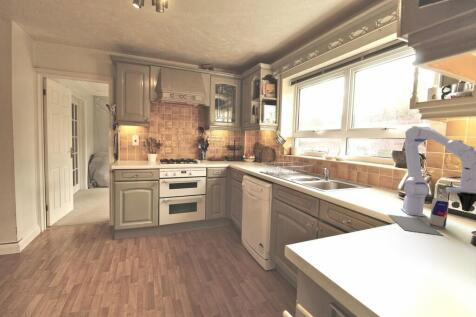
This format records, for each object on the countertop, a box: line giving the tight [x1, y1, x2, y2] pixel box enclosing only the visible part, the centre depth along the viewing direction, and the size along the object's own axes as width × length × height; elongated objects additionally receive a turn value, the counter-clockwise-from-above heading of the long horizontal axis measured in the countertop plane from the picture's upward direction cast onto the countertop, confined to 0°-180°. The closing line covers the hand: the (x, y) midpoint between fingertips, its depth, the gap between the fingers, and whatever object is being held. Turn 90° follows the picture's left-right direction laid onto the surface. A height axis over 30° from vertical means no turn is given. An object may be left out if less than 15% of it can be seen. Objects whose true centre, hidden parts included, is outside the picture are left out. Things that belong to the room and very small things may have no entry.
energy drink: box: [428, 197, 450, 230], centre depth 100 cm, size 5×5×12 cm
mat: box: [388, 214, 444, 237], centre depth 103 cm, size 20×13×1 cm, turn 164°
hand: (465, 210), depth 98 cm, fingers closed
